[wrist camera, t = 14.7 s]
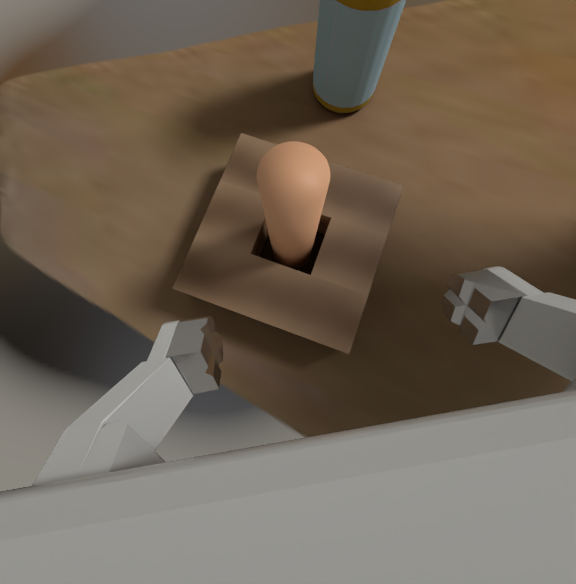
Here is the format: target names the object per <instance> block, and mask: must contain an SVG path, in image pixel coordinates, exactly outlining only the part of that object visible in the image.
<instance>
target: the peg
mask: <svg viewBox="0 0 576 584" xmlns="http://www.w3.org/2000/svg"><path fill="white" fill-rule="evenodd" d="M257 182H258V187H259V191H260V196H261V201H262V205H263V210H264V215H265V219H266V224H267V228H268V233H269V238H270V242H271V247H272V251H273V256H274V258H275V260H276V261H277V263H278V264H281V265H284V266H286V267H289V268H292V269H296V268H299V267H301V266H303V265H304V264H306V263H307V261H308V260H309V258H310V255H311V251H312V248H313V244H314V240H315V236H316V232H317V229H318V225H319V221H320V217H321V213H322V209H323V206H324V202H325V198H326V194H327V190H328V186H329V183H330V168H329V164H328V162H327V160H326V158H325V157H324V156H323V154H322V153H321V152H320V151H319V150H317V149H316V148H315V147H313V146H311V145H309V144H306V143H302V142H285V143H281V144H278V145H276V146H274V147H273V148H271V149H270V150H269V151H267V152H266V154H265V155H264V156H263V157H262V159H261V161H260V163H259V165H258V169H257Z"/></svg>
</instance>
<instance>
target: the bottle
mask: <svg viewBox="0 0 576 584" xmlns="http://www.w3.org/2000/svg"><path fill="white" fill-rule="evenodd" d="M405 1H406V0H320V5H319V17H318V28H317V39H316V50H315V61H314V73H313V91H314V94H315V96H316V98H317V99H318V101H319V102H320V103H321V104H322V105H323V106H324V107H325V108H327V109H329V110H330V111H333V112H337V113H350V112H353V111H356V110H358V109H360V108H362V107H363V106H365V105H366V104H367V103H368V102H369V101H370V99H371V98H372V96H373V93H374V91H375V88H376V85H377V82H378V79H379V77H380V74H381V71H382V68H383V65H384V62H385V59H386V56H387V53H388V51H389V48H390V45H391V42H392V39H393V36H394V33H395V30H396V27H397V25H398V22H399V19H400V16H401V13H402V10H403V7H404V4H405Z"/></svg>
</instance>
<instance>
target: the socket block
mask: <svg viewBox="0 0 576 584" xmlns="http://www.w3.org/2000/svg"><path fill="white" fill-rule="evenodd" d="M276 145H277V144H274V143H271V142H268V141H265V140H262V139H259V138H255V137H252V136H249V135H246V134H243V133H241V134H240V137H239V139H238V141H237V143H236V146H235V148H234V150H233V152H232V155H231V157H230V159H229V161H228V164H227V166H226V168H225V170H224V173H223V175H222V177H221V179H220V182H219V184H218V186H217V188H216V191H215V193H214V195H213V197H212V200H211V202H210V204H209V207H208V209H207V211H206V213H205V216H204V218H203V220H202V222H201V225H200V227H199V229H198V231H197V234H196V236H195V238H194V240H193V243H192V245H191V247H190V249H189V252H188V254H187V256H186V258H185V261H184V263H183V265H182V267H181V270H180V272H179V274H178V276H177V279H176V281H175V283H174V286H173V288H172V289H175V290H177V291H180V292H183V293H185V294H188V295H191V296H193V297H196V298H199V299H201V300H204V301H207V302H210V303H212V304H215V305H218V306H220V307H223V308H226V309H228V310H231V311H234V312H236V313H239V314H242V315H244V316H247V317H250V318H253V319H255V320H258V321H261V322H263V323H266V324H269V325H271V326H274V327H277V328H279V329H282V330H285V331H288V332H290V333H293V334H296V335H298V336H301V337H304V338H306V339H309V340H312V341H314V342H317V343H320V344H322V345H325V346H328V347H331V348H333V349H336V350H339V351H341V352H344V353H347V354H350V351H351V347H352V344H353V341H354V338H355V335H356V332H357V329H358V326H359V323H360V320H361V316H362V313H363V310H364V307H365V304H366V301H367V298H368V295H369V292H370V289H371V286H372V282H373V279H374V276H375V273H376V270H377V267H378V264H379V261H380V258H381V255H382V251H383V248H384V245H385V242H386V239H387V236H388V233H389V230H390V227H391V224H392V220H393V217H394V214H395V211H396V208H397V205H398V202H399V199H400V196H401V193H402V189H403V186H404V185H401V184H398V183H394V182H391V181H388V180H385V179H382V178H379V177H376V176H373V175H370V174H367V173H364V172H360V171H357V170H354V169H351V168H348V167H345V166H342V165H339V164H336V163H333V162H330V161H327V162H328V164H329V168H330V183H329V186H328V190H327V194H326V198H325V202H324V206H323V209H322V213H321V217H320V221H319V225H318V229H317V232H319V233H322V234H325V237H324V239H323V242H322V245H321V248H320V251H319V253H318V256H317V259H316V262H315V264H314V267H313V270H312V273H311V275H309V274H306V273H303V272H300V271H298V270H295V269H292V268H289V267H286V266H284V265H281V264H278V263H275V262H272V261H269V260H267V259H264V258H261V257H260V255H261V253H262V250H263V247H264V245H265V242H266V240H267V237H268V235H269V233H268V228H267V224H266V219H265V215H264V210H263V205H262V201H261V196H260V191H259V187H258V182H257V169H258V165H259V163H260V161H261V159H262V157H263V156H264V155H265V154H266V152H267V151H269V150H270V149H271V148H273V147H274V146H276Z"/></svg>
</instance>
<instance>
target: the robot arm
mask: <svg viewBox="0 0 576 584" xmlns="http://www.w3.org/2000/svg"><path fill="white" fill-rule="evenodd" d="M447 286H448V288H449V289H450V290H449V291H448V292H447V293H446V294H445V295H444V297H443V301H442V306H443V311H444V313H445V315H446V317H447V318H448V319H449V320H450V321H451V322H453V323H456V324H458V325H459V331H460V332H461V333H462V334H463V335H464V336H465V337H466V338H467V339H468V341H469V342H470V343H471V344H472V345H476V344H483V343H490V342H496V341H499V343H501V344H503V345H504V346H506V347H508V348H510V349H512V350H514V351H516V352H518V353H519V354H521V355H523V356H525V357H527V358H529V359H531V360H533V361H534V362H536V363H538V364H540V365H542V366H544V367H546V368H547V369H549V370H551V371H553V372H555V373H557V374H559V375H561V376H562V377H564V378H566V379H568V380H570V381H572V382H571V383H570V384H569V385H568V386H567V387H566V389H565V390H564V392H560V393H554V394H549V395H543V396H537V397H532V398H526V399H520V400H515V401H509V402H503V403H498V404H492V405H487V406H481V407H475V408H470V409H464V410H458V411H453V412H447V413H441V414H436V415H430V416H424V417H419V418H413V419H408V420H402V421H396V422H391V423H385V424H380V425H374V426H368V427H363V428H357V429H351V430H346V431H340V432H335V433H329V434H323V435H318V436H312V437H306V438H301V439H295V440H290V441H284V442H279V443H273V444H267V445H262V446H256V447H250V448H245V449H239V450H234V451H228V452H222V453H217V454H211V455H205V456H199V457H194V458H188V459H182V460H177V461H171V462H165V461H164V460H163V459H162V458H161V457H160V456H159V455H158V454H157V453H156V452H155V450H156V448H157V447H158V445H159V444H160V443H161V441H162V440H163V438H164V437H165V435H166V434H167V432H168V431H169V430H170V428H171V427H172V425H173V424H174V422H175V421H176V420H177V418H178V417H179V415H180V413H181V412H182V411H183V409H184V408H185V407H186V405H187V404H188V402H189V401H190V399H191V398H192V396H193V394H197V393H202V392H206V391H212V390H217V389H219V386H220V378H221V370H220V368H219V364H220V363H221V362H222V361H223V344H222V340H221V337H220V335H219V333H217V332H215V331H214V330H215V322H214V320H213V318H212V317H211V316H204V317H198V318H191V319H184V320H180V321H172V322H166V323H164V324H163V325H162V327H161V329H160V331H159V334H158V336H157V338H156V341H155V343H154V345H153V348H152V350H151V353H150V355H149V357H148V360H147V361H146V362H142V363H141V364H139V365H138V366H137V367H136V368H135V369H134V370H132V371H131V372H130V373H129V374H128V375H127V376H126V377H124V378H123V379H122V380H121V381H120V382H119V383H118V384H116V385H115V386H114V387H113V388H112V389H111V390H110V391H108V392H107V393H106V394H105V395H104V396H103V397H101V398H100V399H99V400H98V401H97V402H96V403H95V404H93V405H92V406H91V407H90V408H89V409H88V410H87V411H86V412H84V413H83V414H82V415H81V416H80V417H79V418H77V419H76V420H75V421H74V422H73V423H72V424H71V425H69V426H68V427H67V428H66V429H65V431H64V432H63V434H62V436H61V437H60V439H59V441H58V442H57V444H56V446H55V448H54V450H53V451H52V453H51V455H50V456H49V458H48V460H47V461H46V463H45V465H44V467H43V468H42V470H41V472H40V474H39V475H38V477H37V478H36V480H35V482H34V483H33V485H32V486H30V487H24V488H18V489H12V490H7V491H1V492H0V584H576V300H575V299H572V298H568V297H564V296H561V295H557V294H554V293H550V292H548V293H543V292H542V291H540V290H539V289H537V288H535V287H534V286H532V285H531V284H529V283H527V282H526V281H524V280H523V279H521V278H520V277H518V276H516V275H515V274H513V273H512V272H510V271H509V270H507V269H505V268H504V267H499V266H495V267H490V268H485V269H482V270H477V271H471V272H465V273H459V274H454V275H452V276H451V277H450V278H449V280H448V283H447Z"/></svg>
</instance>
